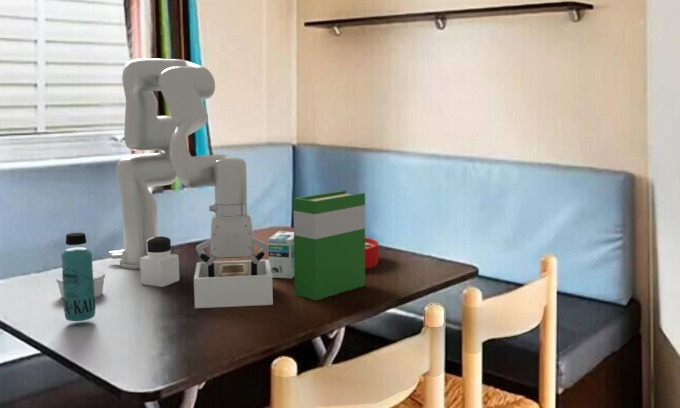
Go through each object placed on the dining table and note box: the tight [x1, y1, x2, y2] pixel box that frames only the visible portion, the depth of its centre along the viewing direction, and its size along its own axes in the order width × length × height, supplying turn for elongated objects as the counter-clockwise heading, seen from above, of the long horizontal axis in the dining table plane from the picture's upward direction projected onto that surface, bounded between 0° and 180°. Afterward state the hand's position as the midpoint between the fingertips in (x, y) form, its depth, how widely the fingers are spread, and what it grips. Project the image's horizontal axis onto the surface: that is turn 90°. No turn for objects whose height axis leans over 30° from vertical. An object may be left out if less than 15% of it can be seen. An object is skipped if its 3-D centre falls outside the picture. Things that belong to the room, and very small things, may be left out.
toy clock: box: [365, 237, 379, 270], centre depth 212 cm, size 20×6×20 cm
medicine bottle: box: [139, 235, 180, 288], centre depth 190 cm, size 7×7×12 cm
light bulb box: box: [267, 230, 294, 280], centre depth 199 cm, size 11×7×11 cm, turn 168°
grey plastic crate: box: [193, 259, 274, 309], centre depth 178 cm, size 18×16×7 cm
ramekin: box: [56, 269, 106, 299], centre depth 180 cm, size 11×11×5 cm
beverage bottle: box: [60, 232, 96, 322], centre depth 157 cm, size 6×7×20 cm
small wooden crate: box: [218, 264, 248, 277], centre depth 178 cm, size 7×9×6 cm
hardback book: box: [292, 189, 366, 301], centre depth 182 cm, size 18×7×24 cm, turn 137°
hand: (233, 279), depth 178 cm, fingers open, 9 cm apart
